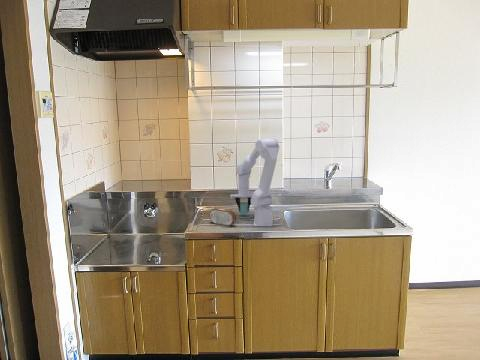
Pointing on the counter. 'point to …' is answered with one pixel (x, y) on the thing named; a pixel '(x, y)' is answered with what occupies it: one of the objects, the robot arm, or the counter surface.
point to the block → (243, 208)
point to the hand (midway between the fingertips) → (244, 211)
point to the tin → (222, 216)
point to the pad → (243, 216)
